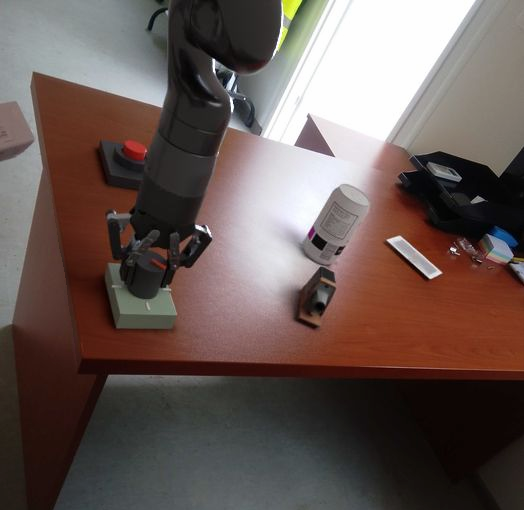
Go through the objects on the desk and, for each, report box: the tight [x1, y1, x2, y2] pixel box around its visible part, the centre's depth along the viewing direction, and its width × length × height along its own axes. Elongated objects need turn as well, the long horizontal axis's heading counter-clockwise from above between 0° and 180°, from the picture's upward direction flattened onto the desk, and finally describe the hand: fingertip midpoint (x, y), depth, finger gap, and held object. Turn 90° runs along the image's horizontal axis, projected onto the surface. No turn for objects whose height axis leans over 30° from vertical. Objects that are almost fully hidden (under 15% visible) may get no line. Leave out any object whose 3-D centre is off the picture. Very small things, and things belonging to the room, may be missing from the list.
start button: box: [123, 139, 147, 160], centre depth 86 cm, size 4×4×2 cm
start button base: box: [98, 138, 149, 191], centre depth 88 cm, size 12×10×4 cm
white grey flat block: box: [386, 235, 443, 280], centre depth 116 cm, size 8×15×2 cm, turn 46°
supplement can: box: [302, 183, 372, 266], centre depth 94 cm, size 8×8×15 cm
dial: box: [127, 249, 167, 299], centre depth 63 cm, size 4×4×6 cm
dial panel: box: [104, 262, 178, 330], centre depth 66 cm, size 10×9×3 cm
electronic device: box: [296, 265, 337, 329], centre depth 81 cm, size 4×10×8 cm, turn 173°
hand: (144, 282), depth 64 cm, fingers closed on dial, 4 cm apart
